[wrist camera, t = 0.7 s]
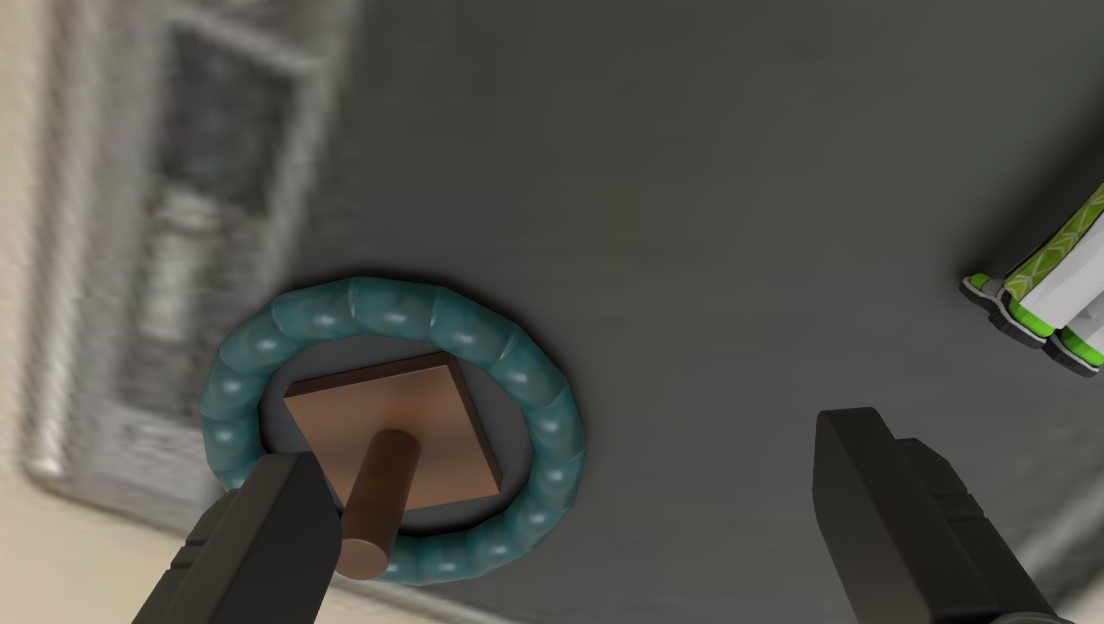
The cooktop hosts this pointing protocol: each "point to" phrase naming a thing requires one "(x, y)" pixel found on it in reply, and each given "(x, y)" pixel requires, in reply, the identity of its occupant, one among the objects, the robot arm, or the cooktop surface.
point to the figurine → (1055, 292)
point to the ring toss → (393, 449)
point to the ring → (415, 318)
